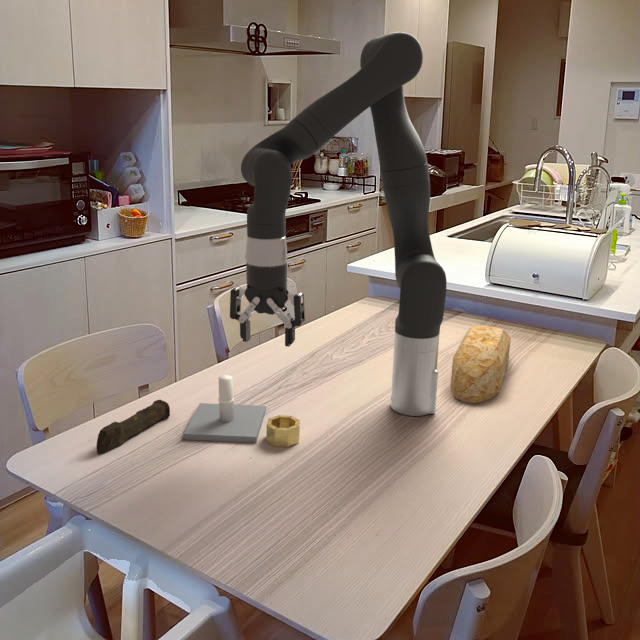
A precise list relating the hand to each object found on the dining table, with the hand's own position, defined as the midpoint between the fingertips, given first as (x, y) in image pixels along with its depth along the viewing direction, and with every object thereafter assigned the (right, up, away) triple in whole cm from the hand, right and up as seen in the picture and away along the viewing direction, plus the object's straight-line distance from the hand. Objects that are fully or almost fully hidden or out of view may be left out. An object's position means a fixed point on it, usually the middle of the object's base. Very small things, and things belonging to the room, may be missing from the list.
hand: (267, 342), depth 135 cm
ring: (+3, -19, +2) cm, 19 cm away
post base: (-9, -17, +8) cm, 20 cm away
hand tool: (-26, -18, +3) cm, 32 cm away
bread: (+49, -9, +37) cm, 62 cm away
